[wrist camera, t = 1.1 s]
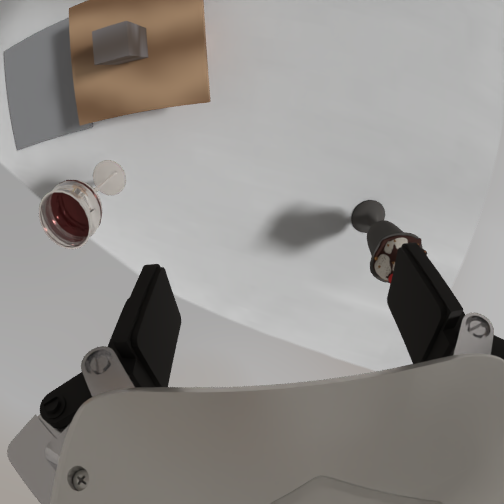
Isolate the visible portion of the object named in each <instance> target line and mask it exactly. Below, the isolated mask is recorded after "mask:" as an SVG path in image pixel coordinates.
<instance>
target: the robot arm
mask: <svg viewBox="0 0 504 504" xmlns="http://www.w3.org/2000/svg"><path fill="white" fill-rule="evenodd" d="M387 303H388V306H389V308H390V311H391V313H392V315H393V317H394V319H395V322H396V324H397V326H398V328H399V331H400V333H401V335H402V338H403V340H404V342H405V345H406V347H407V350H408V352H409V355H410V357H411V360H412V362H413V364H411V365H406V366H402V367H397V368H392V369H387V370H382V371H376V372H371V373H365V374H359V375H353V376H347V377H339V378H332V379H326V380H325V379H324V380H317V381H307V382H298V383H288V384H276V385H261V386H243V387H203V388H202V387H196V388H195V387H194V388H178V387H177V388H175V387H170V388H169V387H168V383H169V378H170V373H171V368H172V363H173V358H174V353H175V349H176V343H177V339H178V335H179V330H180V325H181V316H180V313H179V310H178V307H177V304H176V301H175V298H174V295H173V292H172V289H171V286H170V283H169V280H168V277H167V274H166V271H165V269H164V268H163V267H160V265H159V264H152V265H144V267H143V269H142V271H141V273H140V276H139V278H138V280H137V282H136V285H135V287H134V289H133V291H132V294H131V296H130V298H129V299H128V300H127V301H126V303H125V305H124V308H123V310H122V313H121V315H120V317H119V320H118V322H117V325H116V327H115V330H114V332H113V335H112V337H111V339H110V342H109V345H108V347H104V346H102V347H97V348H94V349H92V350H91V351H89V352H88V353H87V354H86V355H85V356H84V358H83V360H82V363H81V369H82V372H81V373H80V374H78V375H77V376H75V377H73V378H72V379H70V380H69V381H67V382H66V383H64V384H63V385H61V386H59V387H58V388H56V389H55V390H53V391H52V392H50V393H49V394H47V395H46V396H45V397H44V399H43V400H42V402H41V405H40V415H39V416H36V415H35V416H34V417H33V418H32V419H31V420H30V421H29V422H28V423H27V424H26V426H25V427H24V428H23V429H22V430H21V431H20V433H19V434H17V436H16V437H15V438H14V439H13V440H12V441H11V443H10V444H9V446H8V450H7V452H8V458H9V460H10V462H11V464H12V465H13V467H14V468H15V470H16V471H17V472H18V474H19V475H20V477H21V478H22V480H23V481H24V482H25V484H26V485H27V486H28V488H29V489H30V490H31V492H32V493H33V494H34V496H35V497H36V498H37V499H38V501H39V502H40V503H41V504H504V340H503V339H501V338H499V337H497V336H495V335H494V328H493V326H492V323H491V322H490V321H489V319H487V318H486V317H485V316H483V315H481V314H478V313H469V314H467V315H465V314H464V312H463V308H462V307H461V305H460V303H459V302H458V300H457V299H456V297H455V296H454V294H453V293H452V291H451V290H450V288H449V287H448V285H447V284H446V282H445V281H444V279H443V278H442V277H441V275H440V274H439V272H438V271H437V269H436V268H435V267H434V265H433V264H432V263H431V261H430V260H429V258H428V257H427V256H426V254H425V253H424V252H423V250H422V249H421V248H420V247H419V245H418V244H417V243H415V242H414V243H404V244H402V246H401V247H400V248H398V251H397V256H396V261H395V266H394V271H393V275H392V280H391V284H390V289H389V293H388V297H387Z"/></svg>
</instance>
